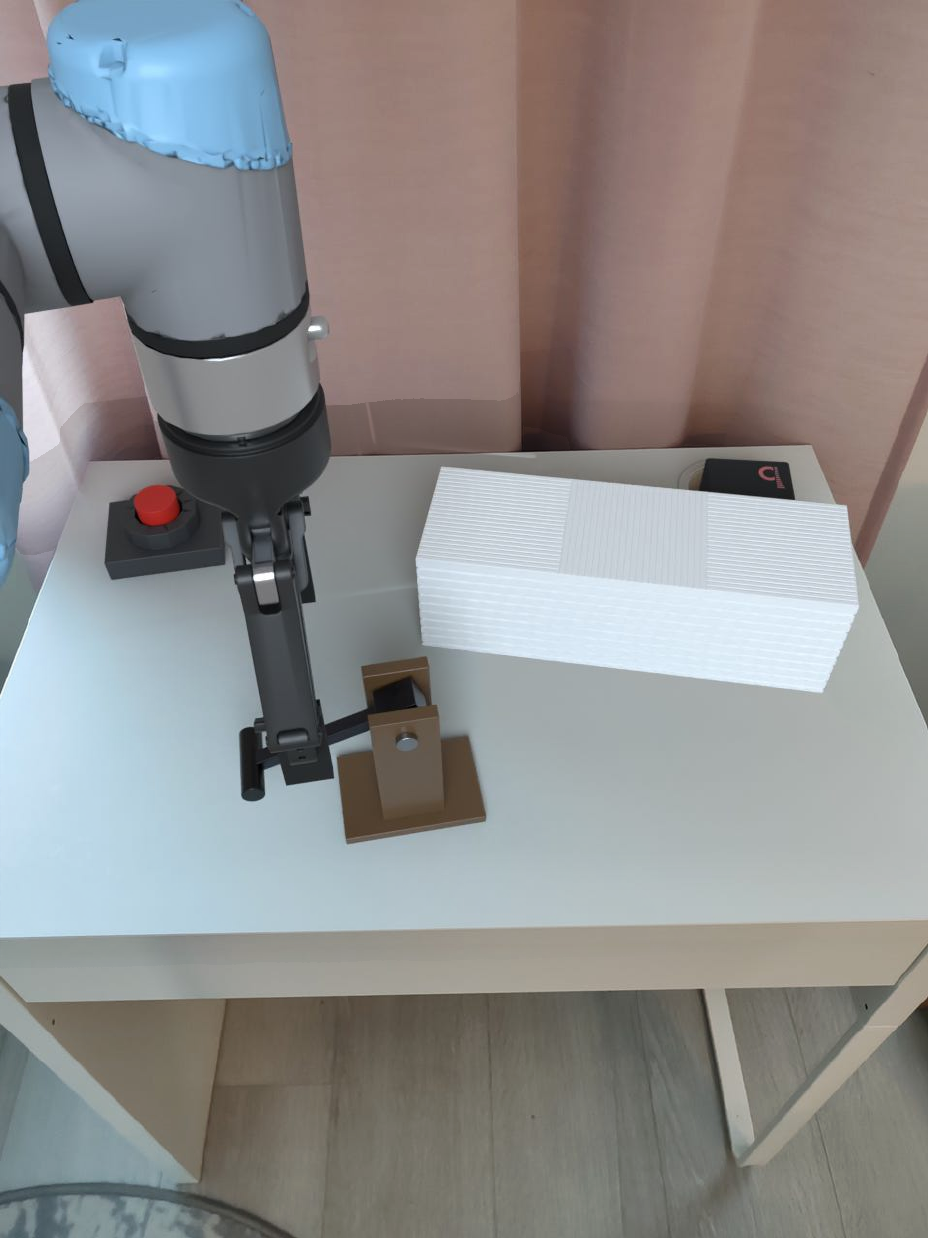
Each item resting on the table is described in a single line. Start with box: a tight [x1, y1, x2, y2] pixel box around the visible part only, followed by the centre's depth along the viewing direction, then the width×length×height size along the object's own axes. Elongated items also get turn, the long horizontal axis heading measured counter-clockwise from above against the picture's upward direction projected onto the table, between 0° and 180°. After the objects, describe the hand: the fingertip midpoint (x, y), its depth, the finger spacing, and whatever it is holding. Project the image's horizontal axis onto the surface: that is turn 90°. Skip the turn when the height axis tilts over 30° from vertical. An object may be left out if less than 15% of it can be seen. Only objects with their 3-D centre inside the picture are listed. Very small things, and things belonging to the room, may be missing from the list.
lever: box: [238, 678, 427, 803], centre depth 66 cm, size 13×5×2 cm, turn 100°
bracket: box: [336, 655, 487, 845], centre depth 69 cm, size 10×7×13 cm
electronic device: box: [698, 457, 796, 500], centre depth 88 cm, size 7×11×5 cm
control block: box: [104, 484, 226, 581], centre depth 90 cm, size 10×8×4 cm
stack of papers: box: [415, 465, 860, 694], centre depth 80 cm, size 32×11×11 cm, turn 81°
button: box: [134, 484, 180, 526], centre depth 88 cm, size 4×4×2 cm
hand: (301, 682), depth 61 cm, fingers open, 13 cm apart
